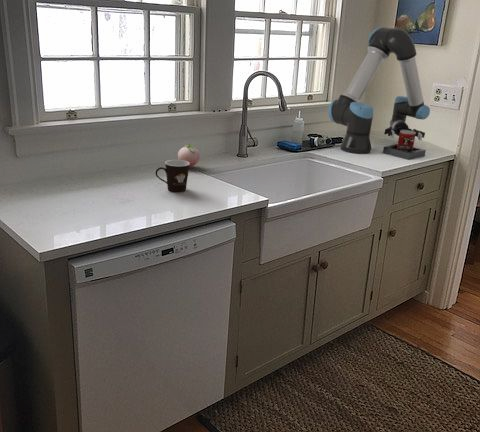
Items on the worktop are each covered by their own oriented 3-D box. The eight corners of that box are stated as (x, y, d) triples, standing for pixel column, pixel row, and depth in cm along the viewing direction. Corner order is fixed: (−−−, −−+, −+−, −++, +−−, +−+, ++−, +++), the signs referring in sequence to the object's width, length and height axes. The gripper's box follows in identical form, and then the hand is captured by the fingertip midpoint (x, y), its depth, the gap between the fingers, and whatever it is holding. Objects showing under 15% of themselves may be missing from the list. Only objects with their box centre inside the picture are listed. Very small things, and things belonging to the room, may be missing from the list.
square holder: (408, 159, 256) (409, 153, 255) (382, 152, 266) (383, 146, 265) (424, 156, 265) (425, 150, 264) (398, 149, 275) (399, 143, 274)
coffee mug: (189, 186, 193) (190, 160, 190) (188, 194, 185) (188, 167, 182) (157, 185, 193) (158, 158, 189) (154, 192, 185) (155, 165, 181)
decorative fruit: (173, 166, 218) (174, 142, 214) (190, 164, 222) (191, 140, 219) (185, 172, 211) (185, 147, 207) (202, 169, 215) (203, 146, 212)
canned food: (395, 153, 263) (399, 131, 259) (396, 150, 270) (400, 129, 266) (411, 155, 261) (415, 133, 257) (412, 152, 268) (416, 131, 264)
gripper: (422, 137, 284) (431, 146, 264) (376, 133, 287) (380, 141, 267) (425, 123, 282) (434, 131, 262) (378, 119, 284) (383, 126, 264)
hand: (407, 136), depth 264 cm, fingers open, 13 cm apart
